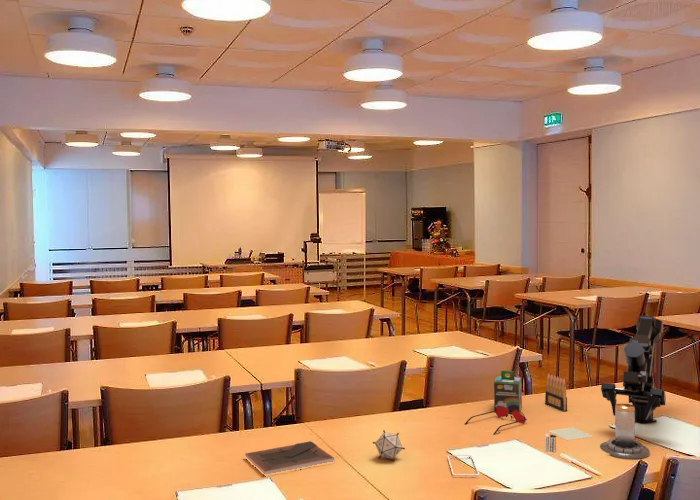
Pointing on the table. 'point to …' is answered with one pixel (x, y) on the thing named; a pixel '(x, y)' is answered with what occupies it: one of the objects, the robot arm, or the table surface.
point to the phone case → (463, 474)
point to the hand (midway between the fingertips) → (629, 417)
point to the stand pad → (570, 433)
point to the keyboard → (550, 443)
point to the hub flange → (625, 450)
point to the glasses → (503, 412)
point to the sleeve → (625, 425)
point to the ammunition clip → (556, 393)
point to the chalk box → (508, 391)
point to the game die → (388, 445)
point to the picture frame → (289, 457)
